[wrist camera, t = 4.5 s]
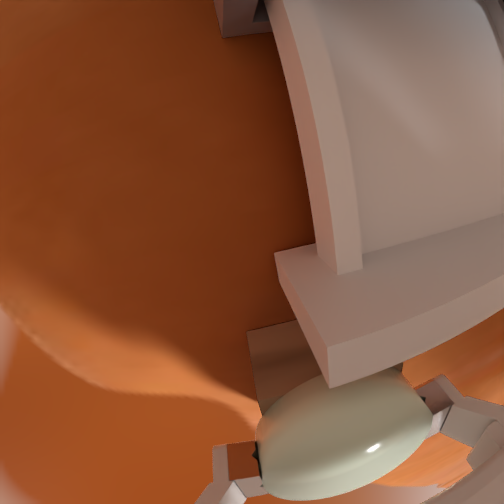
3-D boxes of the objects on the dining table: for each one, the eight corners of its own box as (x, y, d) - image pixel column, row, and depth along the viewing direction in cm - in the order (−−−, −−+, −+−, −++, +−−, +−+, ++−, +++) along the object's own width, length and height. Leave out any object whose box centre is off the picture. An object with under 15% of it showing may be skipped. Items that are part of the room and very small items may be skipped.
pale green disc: (395, 434, 10) (412, 464, 8) (269, 474, 10) (276, 510, 8) (417, 338, 8) (451, 373, 6) (237, 393, 8) (243, 447, 6)
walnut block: (357, 380, 13) (388, 433, 10) (266, 405, 13) (279, 468, 9) (357, 302, 12) (404, 355, 8) (246, 331, 12) (257, 400, 8)
